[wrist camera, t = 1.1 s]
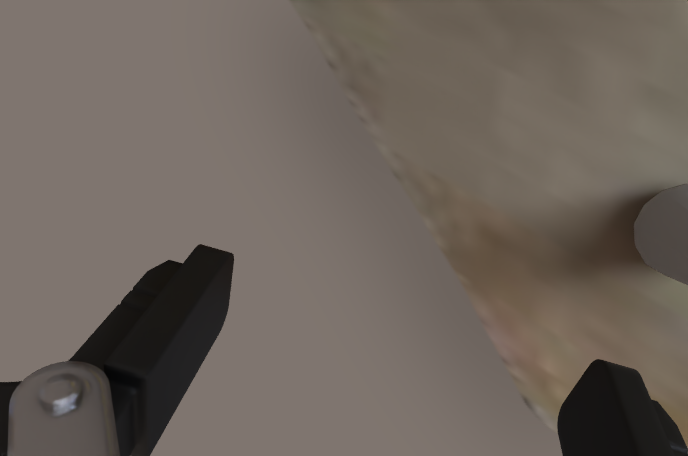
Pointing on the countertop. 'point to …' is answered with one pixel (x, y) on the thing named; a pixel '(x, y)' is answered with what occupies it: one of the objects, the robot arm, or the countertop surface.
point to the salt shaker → (665, 233)
